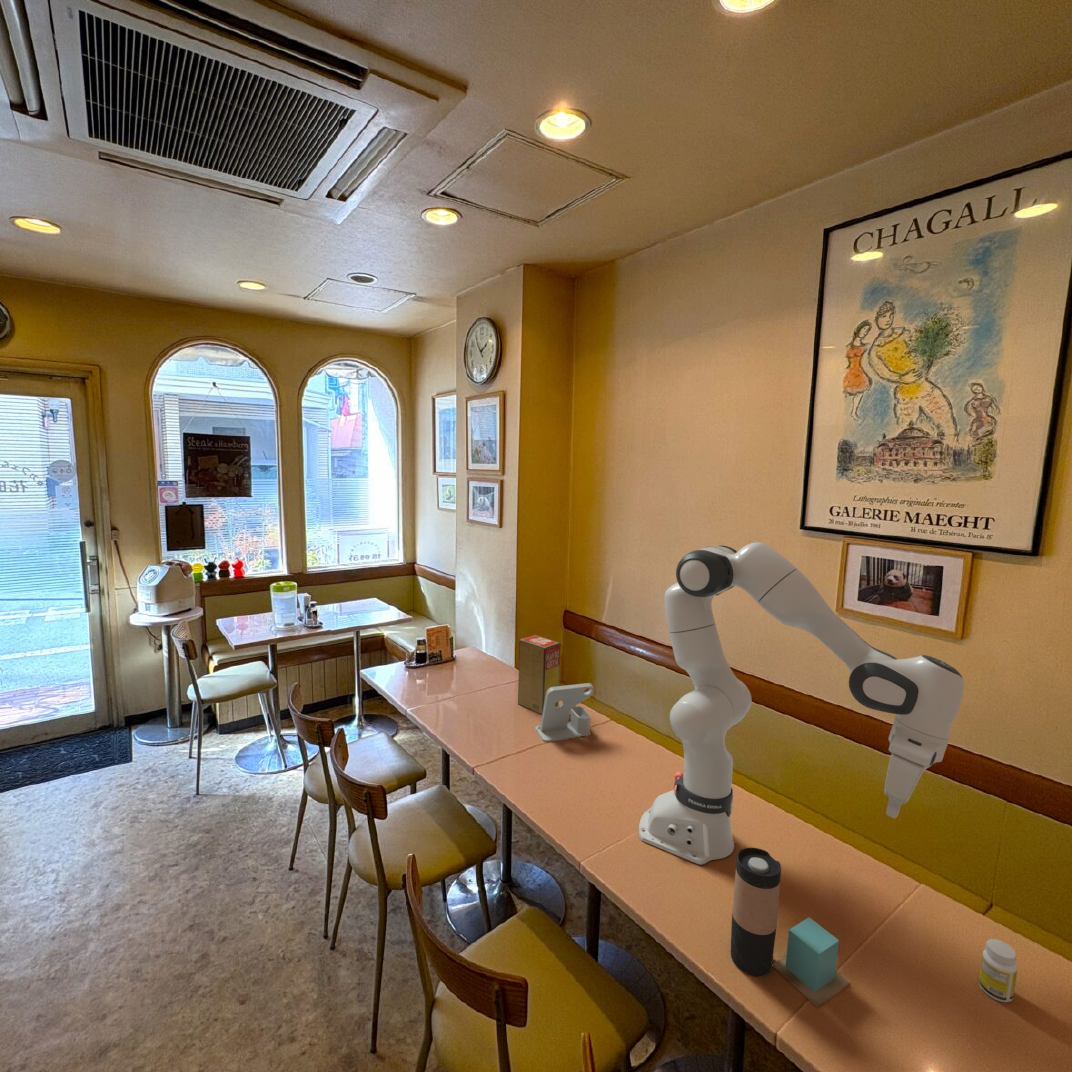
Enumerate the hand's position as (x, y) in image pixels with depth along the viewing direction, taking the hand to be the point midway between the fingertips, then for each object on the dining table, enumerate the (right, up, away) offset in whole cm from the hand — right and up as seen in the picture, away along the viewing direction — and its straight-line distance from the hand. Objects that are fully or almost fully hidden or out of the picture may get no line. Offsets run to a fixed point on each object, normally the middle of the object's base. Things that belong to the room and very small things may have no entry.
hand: (895, 808), depth 109 cm
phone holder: (-60, -14, +81) cm, 102 cm away
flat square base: (-20, -26, -7) cm, 34 cm away
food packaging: (-69, -11, +101) cm, 122 cm away
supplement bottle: (+12, -28, -10) cm, 31 cm away
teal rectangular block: (-20, -26, -7) cm, 34 cm away
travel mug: (-30, -26, -4) cm, 40 cm away
